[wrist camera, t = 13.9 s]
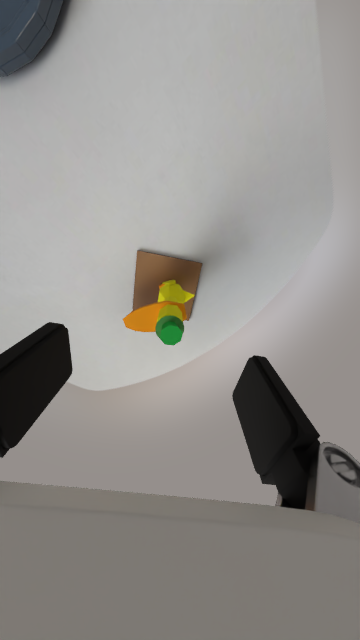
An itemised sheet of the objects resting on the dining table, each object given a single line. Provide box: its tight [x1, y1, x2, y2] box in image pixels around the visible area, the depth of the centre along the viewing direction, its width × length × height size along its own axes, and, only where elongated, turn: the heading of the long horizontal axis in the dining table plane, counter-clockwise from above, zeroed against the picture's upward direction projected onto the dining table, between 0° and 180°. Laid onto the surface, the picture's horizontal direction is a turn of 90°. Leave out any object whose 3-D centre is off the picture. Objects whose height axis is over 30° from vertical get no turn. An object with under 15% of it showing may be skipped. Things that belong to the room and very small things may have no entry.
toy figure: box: [123, 280, 195, 345], centre depth 17 cm, size 7×4×12 cm, turn 100°
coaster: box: [133, 251, 202, 321], centre depth 23 cm, size 8×8×1 cm
